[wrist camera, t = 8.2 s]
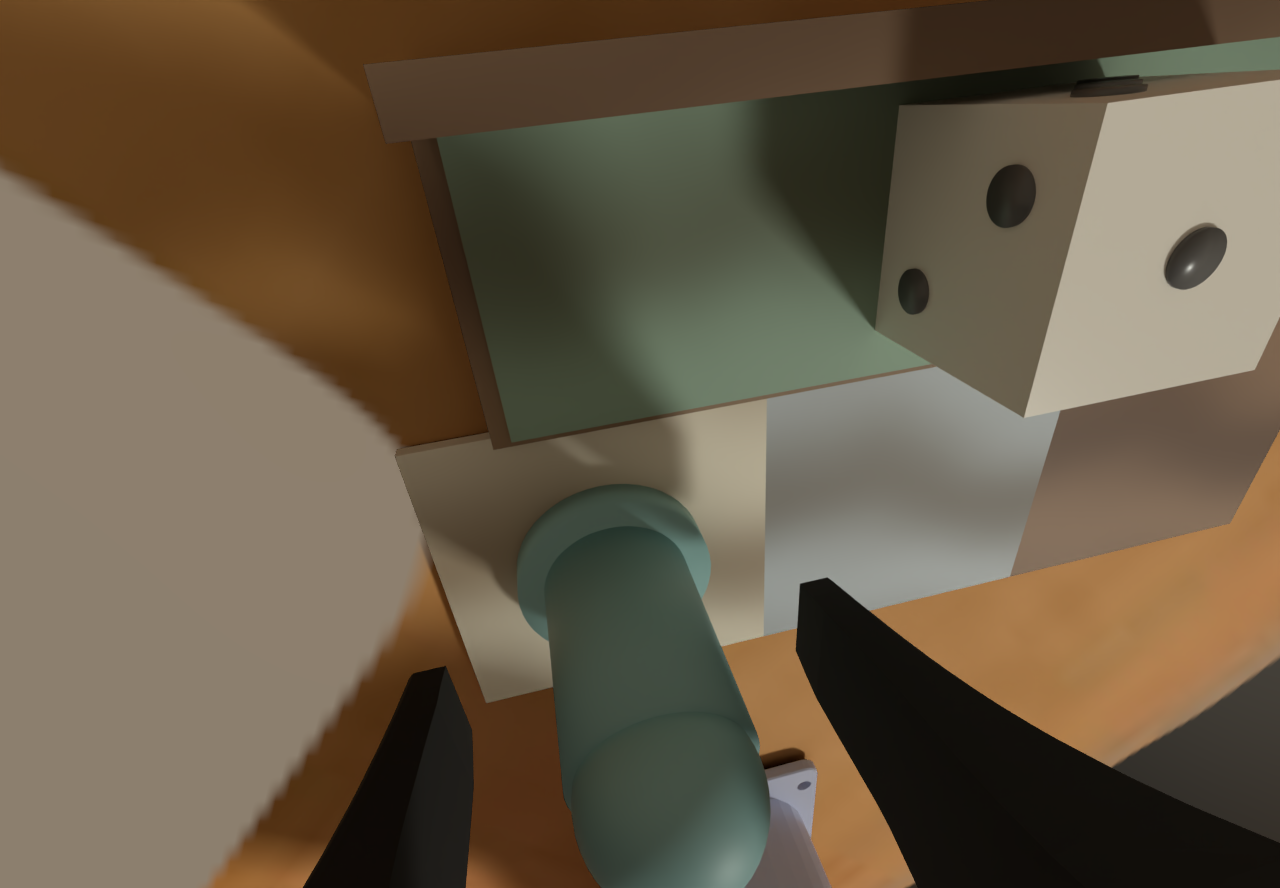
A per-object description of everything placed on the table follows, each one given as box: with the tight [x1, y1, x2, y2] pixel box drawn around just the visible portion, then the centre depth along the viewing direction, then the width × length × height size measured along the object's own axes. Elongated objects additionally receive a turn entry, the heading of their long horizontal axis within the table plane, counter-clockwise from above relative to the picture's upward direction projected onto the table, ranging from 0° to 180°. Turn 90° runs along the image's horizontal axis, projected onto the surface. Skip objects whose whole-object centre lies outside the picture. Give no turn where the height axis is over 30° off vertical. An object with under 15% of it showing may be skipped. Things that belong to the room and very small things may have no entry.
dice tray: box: [363, 0, 1280, 450], centre depth 11 cm, size 6×24×3 cm, turn 96°
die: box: [875, 70, 1280, 418], centre depth 9 cm, size 4×4×4 cm
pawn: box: [517, 484, 771, 888], centre depth 11 cm, size 5×5×7 cm
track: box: [395, 318, 1280, 703], centre depth 16 cm, size 8×24×1 cm, turn 96°
